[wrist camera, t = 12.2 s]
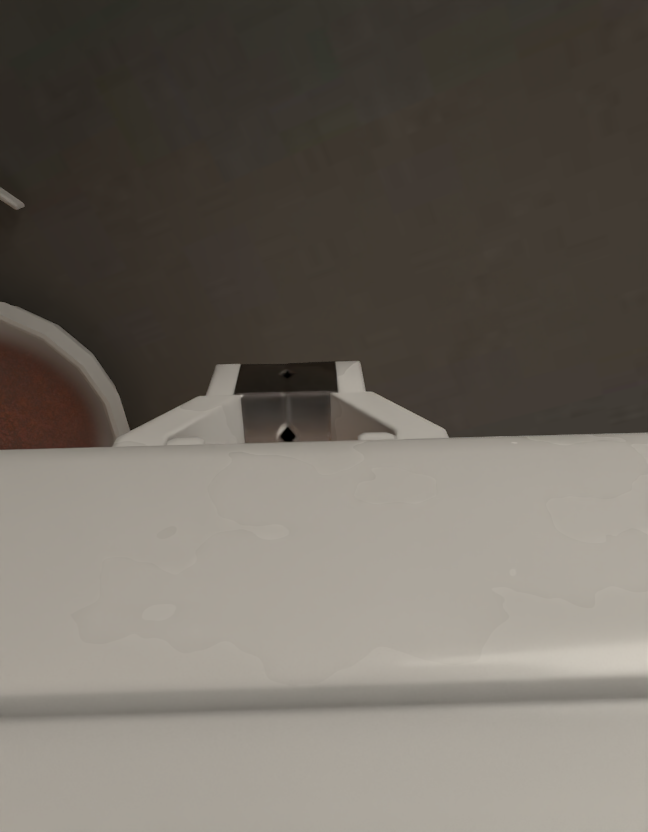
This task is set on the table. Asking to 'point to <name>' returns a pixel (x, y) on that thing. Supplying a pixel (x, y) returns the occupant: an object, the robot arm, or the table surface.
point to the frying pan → (52, 385)
